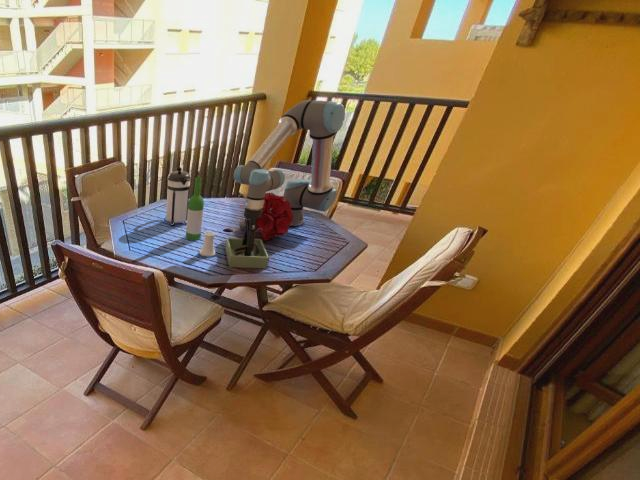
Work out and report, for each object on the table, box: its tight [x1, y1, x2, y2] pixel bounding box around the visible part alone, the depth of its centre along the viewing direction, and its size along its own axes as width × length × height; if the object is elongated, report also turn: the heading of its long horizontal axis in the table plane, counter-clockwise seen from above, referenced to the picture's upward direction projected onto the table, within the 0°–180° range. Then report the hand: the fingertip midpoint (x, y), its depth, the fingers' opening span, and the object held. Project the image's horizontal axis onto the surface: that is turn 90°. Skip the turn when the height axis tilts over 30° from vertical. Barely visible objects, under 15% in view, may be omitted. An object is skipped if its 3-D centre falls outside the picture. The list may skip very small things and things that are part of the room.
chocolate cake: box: [234, 242, 260, 256], centre depth 182 cm, size 10×7×12 cm
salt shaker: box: [199, 231, 216, 258], centre depth 184 cm, size 8×8×10 cm
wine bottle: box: [185, 177, 205, 241], centre depth 195 cm, size 8×8×30 cm
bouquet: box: [238, 192, 294, 242], centre depth 199 cm, size 22×24×30 cm
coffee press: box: [163, 166, 192, 227], centre depth 216 cm, size 17×16×30 cm
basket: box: [224, 237, 270, 269], centre depth 182 cm, size 22×17×5 cm
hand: (245, 255), depth 183 cm, fingers closed on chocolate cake, 9 cm apart
